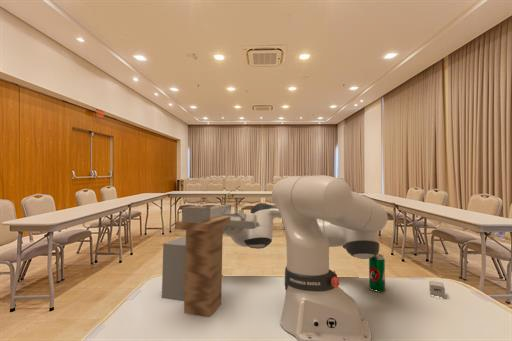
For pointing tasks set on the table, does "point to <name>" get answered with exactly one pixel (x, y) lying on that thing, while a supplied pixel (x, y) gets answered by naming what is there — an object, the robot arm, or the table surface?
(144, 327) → the table surface
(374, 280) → the soda can
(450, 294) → the table surface
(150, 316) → the table surface
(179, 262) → the pedestal
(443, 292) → the usb wall charger
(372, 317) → the table surface
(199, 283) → the brown wooden post
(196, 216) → the link bar
